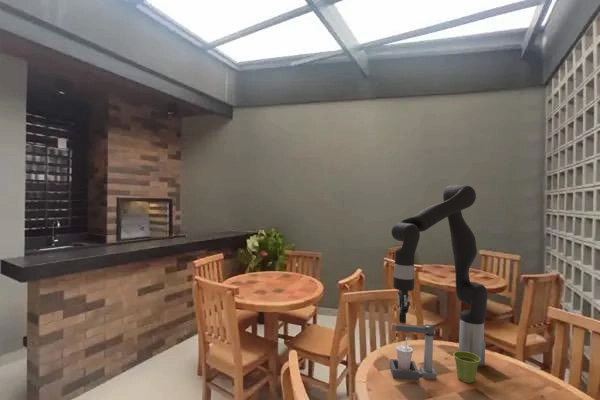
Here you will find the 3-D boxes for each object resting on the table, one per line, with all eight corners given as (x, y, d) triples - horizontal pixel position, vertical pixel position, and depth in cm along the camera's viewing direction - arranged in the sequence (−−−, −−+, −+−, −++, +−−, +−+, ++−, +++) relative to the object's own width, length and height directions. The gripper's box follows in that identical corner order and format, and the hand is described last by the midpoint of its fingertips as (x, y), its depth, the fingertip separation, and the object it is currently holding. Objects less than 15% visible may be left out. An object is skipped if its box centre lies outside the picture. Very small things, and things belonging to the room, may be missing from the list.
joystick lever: (432, 332, 135) (433, 324, 135) (435, 336, 132) (435, 328, 132) (390, 329, 138) (390, 321, 138) (391, 332, 134) (392, 324, 134)
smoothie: (413, 378, 131) (414, 341, 131) (395, 376, 133) (396, 339, 133) (411, 370, 138) (412, 335, 138) (394, 368, 139) (395, 333, 139)
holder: (431, 370, 138) (432, 330, 138) (437, 382, 129) (439, 340, 129) (389, 366, 140) (391, 327, 140) (392, 378, 131) (394, 336, 131)
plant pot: (453, 382, 129) (454, 359, 129) (451, 371, 138) (452, 349, 138) (481, 387, 126) (482, 364, 126) (477, 375, 135) (478, 353, 135)
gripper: (417, 280, 123) (416, 329, 123) (410, 273, 136) (409, 317, 136) (396, 279, 124) (394, 327, 124) (391, 272, 137) (389, 315, 137)
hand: (402, 322), depth 130 cm, fingers closed
